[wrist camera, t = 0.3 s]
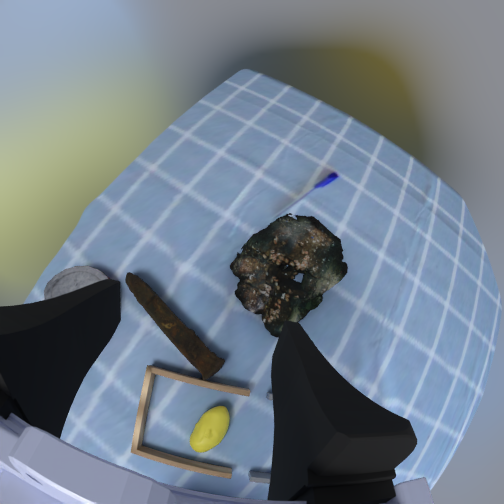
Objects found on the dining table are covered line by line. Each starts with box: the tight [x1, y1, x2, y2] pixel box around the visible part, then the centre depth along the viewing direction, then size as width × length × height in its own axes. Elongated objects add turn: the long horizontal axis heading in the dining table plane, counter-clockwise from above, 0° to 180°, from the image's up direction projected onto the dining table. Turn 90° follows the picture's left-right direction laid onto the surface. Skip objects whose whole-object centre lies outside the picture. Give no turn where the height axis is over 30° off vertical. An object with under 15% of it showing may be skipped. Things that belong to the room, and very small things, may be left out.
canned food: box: [44, 266, 110, 300], centre depth 36 cm, size 11×10×10 cm
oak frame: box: [131, 365, 250, 479], centre depth 32 cm, size 14×14×2 cm
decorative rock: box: [230, 213, 348, 337], centre depth 41 cm, size 19×6×15 cm
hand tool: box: [125, 272, 225, 380], centre depth 37 cm, size 19×4×5 cm, turn 43°
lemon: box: [190, 406, 230, 452], centre depth 32 cm, size 4×8×4 cm, turn 146°
